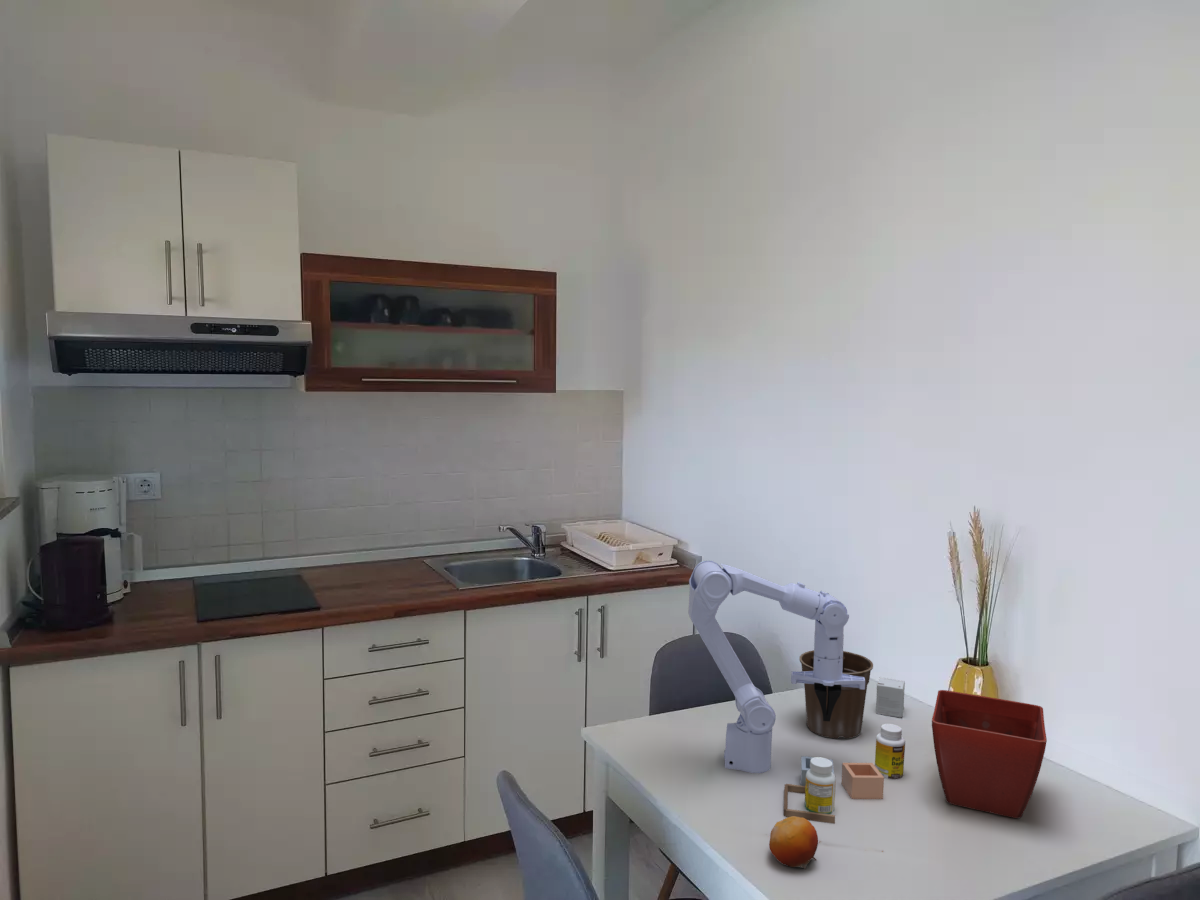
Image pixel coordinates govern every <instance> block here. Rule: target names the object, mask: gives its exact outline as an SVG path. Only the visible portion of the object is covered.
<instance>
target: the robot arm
mask: <svg viewBox="0 0 1200 900" xmlns="http://www.w3.org/2000/svg"><path fill="white" fill-rule="evenodd" d="M721 566H722V567H721ZM688 584H689V585H688V587H689V594H688V617H689V618H690V621H691V622H692V625H693V626H694V627H695V629H696V631H697V633H698V634H699V637H700V638H701V640H702V641H703V643H704V644H705V647H706V648H707V651H708V652H709V654H710V655H711V657H712V658H713V661H714V662H715V664H716V666H717V668H718V669H719V672H721V675H722V676H723V678H724V680H725V681H726V683H727V685H728V687H729V688H730V690H731V691H732V693H733V695H734V698H735V700H734V702H735V704H734V705H735V707H736V709H737V711H738V712H739V716H738V717H737V720H736V722H728V723H727V724H726V731H725V732H726V734H725V749H724V751H723V752H724V754H723V759H724V769H728V770H729V769H730V770H738V771H741V772H746V773H751V774H763V773H766V772H769V771H770V770H771V766H772V741H773V727H774V725H775V723H776V719H777V718H776V716H777V715H776V712H775V709H774V708H773V706H771V705H770V704H769V702H768V701H767V699H766V697H765V694H764V693H763V691H762V690H761V689H759V688H758V687H756V686H755V685H754V684H753V683H754V682H752V680H751V678H750V676H749V674H748V673H747V671H746V669H745V668H744V666H743V664H742V663H741V660H740V659H739V657H738V655H737V653H736V652H735V651H734V649H733V647H732V644H731V643H730V642H729V640H728V638H727V636H726V634H725V633H724V631H723V628H722V627H721V625H720V624H719V622H718V620H717V619H716V615H717V613H718V610H719V607H720V606H721V605H722V603H723V602H724V601H725V600H726V599H727V597H728V596H729V595H730V594H731V595H732V596H736V595H738V594H740V593H741V592H747V593H750V594H754V595H757V596H761V597H764V598H767V599H770V600H772V601H777V602H778V603H779V605H780V608H781V609H782V610H783V611H786V612H789V613H791V614H794V615H797V616H800V617H802V618H806V619H809V620H811V621H813V620H814V621H815V622H814V640H813V641H814V642H813V646H814V647H813V650H814V670H813V671H802V670H801V671H796V670H795V671H791V672H790V673H791V674H790V675H791V678H790V683H791V684H793V685H796V684H804V683H806V684H814V690H815V693H816V695H817V698H818V700H819V703H820V706H821V709H822V714H823V721H830V719H831V714H832V711H833V708H834V706H835V704H836V702H837V700H838V698H839V697H840V695H841V686H842V687H853V688H859V689H863V690H865V678H864V677H858V676H853V675H848V674H843V673H842V670H843V651H844V637H845V635H844V627H845V626H846V625H847V623H848V621H849V619H850V614H848V610H847V606H846V605H845V604H844V603H842V601H840V600H839V599H838V598H836V597H835V596H834V595H832V594H830V593H828V592H826V591H822V590H820V591H817V590H814V589H810V588H808V587H806V585H805V584H804V583H803V582H801V581H797V583H794V582H789V583H786V584H785V585H781V584H779V583H776V582H774V581H771V580H769V579H767V578H763V577H762V576H758V575H756V574H754V573H752V572H749V571H746V570H744V569H741V568H738V567H735V566H733V565H729V564H725V563H720V564H719V563H717V562H716V561H714V560H709V559H708V560H703V561H700V562H698V563H697V564H696V565H695V567H694V568H693V571H692V573H691V575H690V578H689V579H688ZM826 686H828V702H827V711H826V701H827V687H826ZM730 762H732V763H730Z"/></svg>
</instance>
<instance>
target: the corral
mask: <svg viewBox="0 0 1200 900" xmlns="http://www.w3.org/2000/svg"><path fill="white" fill-rule="evenodd" d="M783 793H784V794H783V817H785V818H787V817H791V816H796V817H800V818H802V817H803V818H805V819H807V820H808V821H814V822H821V823H829V824H835V823H836V815H834V814H823V813H815V812H809V811H808V810H797V809H793V808H791V809H790V808H788V795H789V793H795V794H796V793H797V794H804V795H805V786H801V784H800V785H799V784H792V783H786V784H784V792H783Z"/></svg>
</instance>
